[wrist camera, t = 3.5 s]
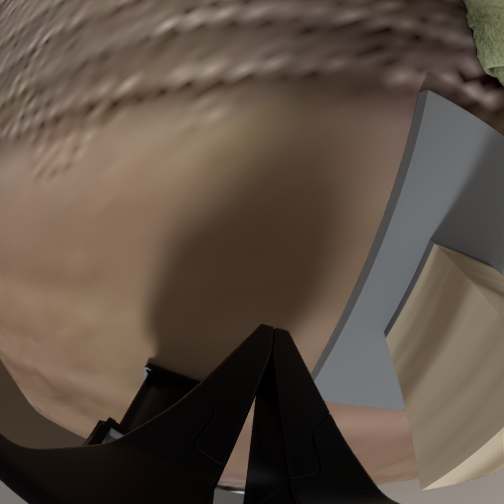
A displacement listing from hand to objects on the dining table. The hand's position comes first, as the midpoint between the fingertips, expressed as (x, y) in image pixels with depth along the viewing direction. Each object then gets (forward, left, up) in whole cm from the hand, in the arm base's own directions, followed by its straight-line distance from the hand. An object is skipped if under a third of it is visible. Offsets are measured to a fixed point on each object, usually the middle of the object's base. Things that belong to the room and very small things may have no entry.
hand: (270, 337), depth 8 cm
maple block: (+9, 0, -6) cm, 11 cm away
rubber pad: (+15, 0, -8) cm, 17 cm away
